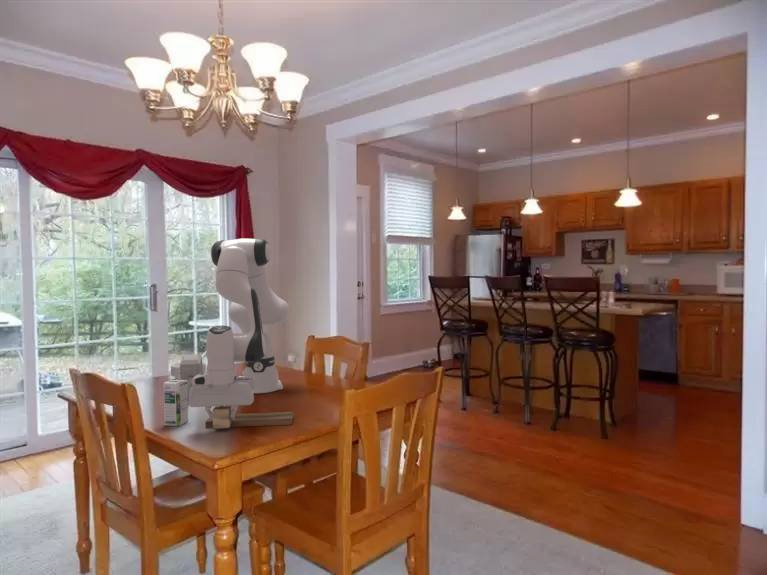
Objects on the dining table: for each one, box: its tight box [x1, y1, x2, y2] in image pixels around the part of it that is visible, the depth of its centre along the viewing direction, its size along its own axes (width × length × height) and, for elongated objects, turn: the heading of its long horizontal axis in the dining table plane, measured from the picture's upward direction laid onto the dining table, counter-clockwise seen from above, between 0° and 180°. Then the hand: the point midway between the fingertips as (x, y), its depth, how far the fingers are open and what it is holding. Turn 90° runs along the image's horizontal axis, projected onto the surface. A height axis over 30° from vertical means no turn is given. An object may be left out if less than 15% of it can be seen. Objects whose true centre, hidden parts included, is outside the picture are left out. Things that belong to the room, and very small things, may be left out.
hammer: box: [179, 353, 203, 399], centre depth 208 cm, size 15×8×30 cm
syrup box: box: [162, 379, 189, 427], centre depth 176 cm, size 6×6×14 cm
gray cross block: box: [170, 361, 207, 380], centre depth 241 cm, size 15×15×8 cm
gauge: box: [212, 406, 232, 429], centre depth 173 cm, size 12×5×7 cm, turn 6°
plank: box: [205, 411, 295, 429], centre depth 176 cm, size 8×28×2 cm, turn 95°
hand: (222, 419), depth 169 cm, fingers closed on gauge, 5 cm apart
